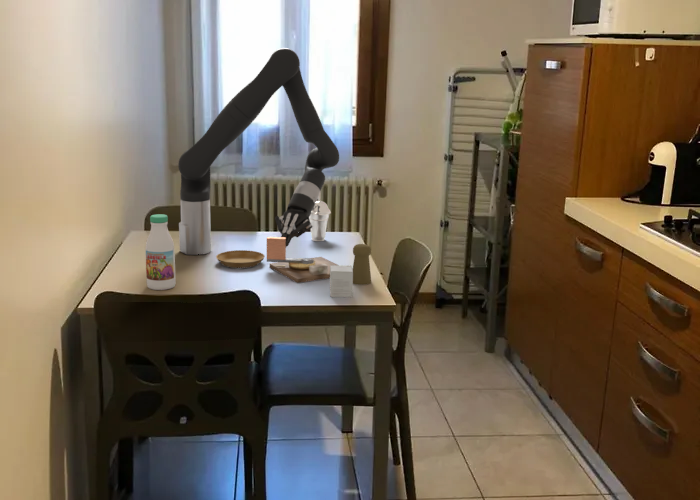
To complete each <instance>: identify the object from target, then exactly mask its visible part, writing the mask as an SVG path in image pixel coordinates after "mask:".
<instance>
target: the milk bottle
mask: <svg viewBox="0 0 700 500" xmlns="http://www.w3.org/2000/svg"><path fill="white" fill-rule="evenodd" d="M168 219H169V217H168V215H167V214H164V213H163V214H161V213H160V214H159V213H158V214H157V213H156V214H152V215H150V217H149V221H150V225H151V226H150V231H149V234H148V236H147V239H146V243H145V270H146V271H145V272H146V287H147V288H148V289H150V290H153V291H163V290H170V289H173V288H175V286H176V282H177V281H176V261H175V259H176V258H175V257H176V256H175V253H176V252H175V243H174V240H173V238H172V236H171V232H170V231H169V229H168V224H169V223H168V221H169V220H168Z"/></svg>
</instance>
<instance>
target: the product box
mask: <svg viewBox="0 0 700 500" xmlns="http://www.w3.org/2000/svg"><path fill="white" fill-rule="evenodd" d="M353 285H354V284H353V265H343V264H341V265H339V264H337V265H331V266H330V278H329V292H330V297H331V298H353Z"/></svg>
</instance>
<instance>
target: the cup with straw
mask: <svg viewBox="0 0 700 500" xmlns="http://www.w3.org/2000/svg"><path fill="white" fill-rule="evenodd" d="M330 214H332V212H331V209H329V207H328V204H327V203H326V202H325V201H322V200H321V192H320V193H319V197H318V199H317V202H316V204H315V206H314V208H313V210H312V213H311V215H310V216H309V220H308V221H310V223H311V224H312V228H311V229H310V234H311V241H313V242H324V241H326V238H325V237H326V234H327V233H326V232H327V226H328V220H329V216H330Z"/></svg>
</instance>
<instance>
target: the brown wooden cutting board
mask: <svg viewBox="0 0 700 500" xmlns="http://www.w3.org/2000/svg"><path fill="white" fill-rule="evenodd" d="M310 258H311V259H313V260H314V261H315V265H312V266H309V269H305V270H300V269H293V268H290V267H289V263H285V262H269V268H270V269H272V270H274V271H275V272H277V273H278V274H281V275H283V276H284V277H286V278H288V279H290V280H292V281H293V282H295V283H297V284H301V283H305V282H311V281H312V282H314V281H320V280H325V279H330V266H331V265H338V264H337V263H336V262H334V261H331V260H329V259H326V258H325V257H323V256H318V257H317V256H316V257H315V256H314V257H310Z"/></svg>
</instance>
